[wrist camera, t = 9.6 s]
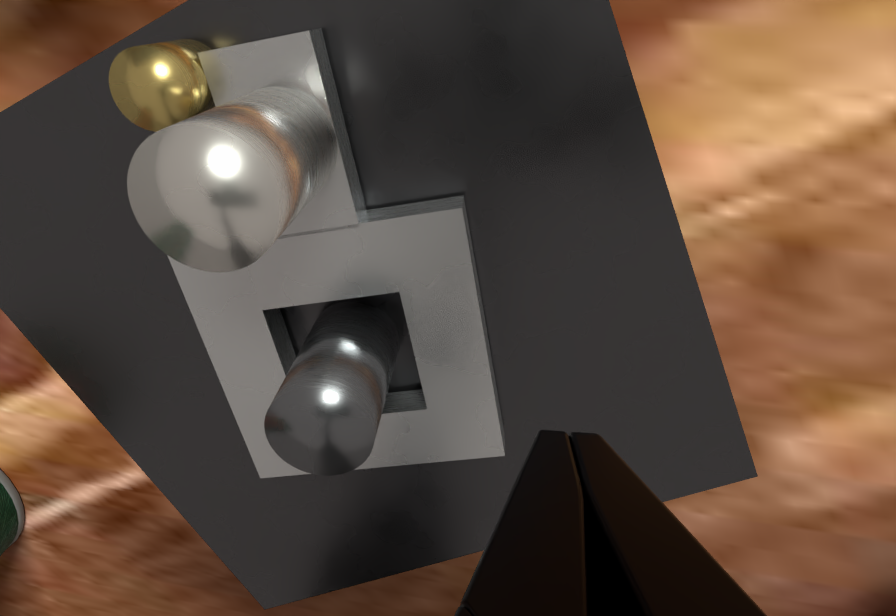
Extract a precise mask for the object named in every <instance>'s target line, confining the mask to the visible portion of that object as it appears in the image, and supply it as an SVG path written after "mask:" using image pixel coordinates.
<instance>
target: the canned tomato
mask: <svg viewBox="0 0 896 616" xmlns="http://www.w3.org/2000/svg"><path fill="white" fill-rule="evenodd" d="M24 520H25V516H24V508H23V504H22V501H21V499H20V496H19V493H18V492H17V490H16V488H15V487H14V485H13V484H12V482H11V481H10V479H9V478H8V477H7V476H6V475H5V474H4V472H3V471H2V470H1V469H0V556H1V555H2V554H3V552H4V551H5V550H6V549H7V548H8V547H10V546H11V545H12V544H13V543H14V542H15V541H16V540H17V539H18V537H19V535H20V533H21V531H22V530H23V526H24Z"/></svg>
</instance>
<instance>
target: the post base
mask: <svg viewBox="0 0 896 616" xmlns="http://www.w3.org/2000/svg"><path fill="white" fill-rule="evenodd" d="M319 28H321V29H322V33H323V37H324V41H325V45H326V49H327V53H328V57H329V61H330V65H331V69H332V73H333V77H334V81H335V85H336V89H337V94H338V98H339V102H340V106H341V110H342V114H343V118H344V122H345V126H346V130H347V134H348V138H349V142H350V146H351V150H352V154H353V158H354V162H355V166H356V170H357V174H358V178H359V182H360V186H361V190H362V194H363V198H364V202H365V206H366V210H371V209H377V208H384V207H390V206H397V205H403V204H410V203H416V202H423V201H429V200H436V199H442V198H449V197H455V196H462V195H464V199H465V205H466V211H467V217H468V223H469V228H470V234H471V240H472V246H473V252H474V258H475V264H476V270H477V275H478V281H479V287H480V293H481V299H482V305H483V311H484V317H485V322H486V328H487V334H488V340H489V346H490V352H491V358H492V364H493V369H494V375H495V381H496V387H497V393H498V399H499V405H500V411H501V416H502V422H503V428H504V437H505V456H498V457H487V458H477V459H466V460H455V461H444V462H433V463H422V464H411V465H401V466H390V467H379V468H368V469H357V470H354V469H356V468H358V467H359V466H360V465H362V464H363V463H364V462H365V461H366V460H367V458H368V457H369V456H370V454H371V452H372V449H373V445H374V442H375V438H376V434H377V430H378V427H379V423H380V419H381V415H382V411H383V408H384V404H385V400H386V396H387V393H393V392H402V391H411V390H420V389H422V385H421V381H420V377H419V372H418V368H417V364H416V360H415V356H414V351H413V347H412V343H411V339H410V335H409V330H408V326H407V322H406V318H405V313H404V309H403V305H402V301H401V297H400V292H395V293H388V294H380V295H373V296H365V297H358V298H350V299H343V300H335V301H328V302H320V303H312V304H305V305H297V306H290V307H282V308H280V311H281V314H282V317H283V320H284V322H285V325H286V328H287V331H288V334H289V337H290V340H291V343H292V346H293V349H294V352H295V355H296V358H295V360H294V362H293V364H292V366H291V368H290V370H289V371H288V373H287V375H286V377H285V379H284V381H283V383H282V384H281V386H280V388H279V390H278V392H277V394H276V396H275V397H274V399H273V401H272V403H271V405H270V407H269V408H268V410H267V413H266V416H265V420H264V429H265V434H266V438H267V440H268V442H269V444H270V446H271V447H272V449H273V450H274V451H275V453H276V454H277V455H278V456H279V457H280V458H281V459H282V460H284V461H285V462H286V463H288V464H289V465H291V466H293V467H295V468H297V469H299V470H301V471H304V472H307V473H311V474H303V475H292V476H281V477H270V478H260V476H259V474H258V472H257V469H256V467H255V464H254V462H253V460H252V457H251V455H250V452H249V450H248V448H247V445H246V443H245V440H244V438H243V436H242V433H241V431H240V428H239V426H238V424H237V421H236V419H235V416H234V414H233V412H232V409H231V407H230V404H229V402H228V400H227V397H226V395H225V392H224V390H223V388H222V385H221V383H220V381H219V378H218V376H217V373H216V371H215V369H214V366H213V364H212V361H211V359H210V357H209V354H208V352H207V349H206V347H205V345H204V342H203V340H202V337H201V335H200V333H199V330H198V328H197V325H196V323H195V321H194V318H193V316H192V313H191V311H190V309H189V306H188V304H187V301H186V299H185V297H184V294H183V292H182V289H181V287H180V285H179V282H178V280H177V277H176V275H175V273H174V270H173V268H172V265H171V263H170V261H169V258H168V256H167V254H165V253H164V252H163V251H162V250H160V249H159V248H158V247H157V246H156V245H155V244H154V243H153V242H152V241H151V240H150V239H149V238H148V236H147V235H146V234H145V233H144V231H143V230H142V228H141V227H140V225H139V223H138V222H137V219H136V217H135V215H134V213H133V211H132V208H131V205H130V201H129V197H128V189H127V175H128V170H129V165H130V163H131V160H132V157H133V155H134V153H135V152H136V150H137V149H138V147H139V146H140V145H141V143H142V142H143V141H144V140H146V139H147V138H148V137H149V136H150V135H152V134H153V133H155V132H157V131H159V130H161V129H163V128H166V127H168V126H171V125H173V124H176V123H178V122H180V121H183V120H185V119H188V118H190V117H192V116H195V115H197V114H200V113H202V112H205V111H207V110H209V109H212V108H214V107H216V106H215V103H214V100H213V97H212V94H211V91H210V89H209V86H208V83H207V80H206V77H205V74H204V71H203V68H202V65H201V62H200V59H199V56H198V53H199V52H203V51H208V50H213V49H218V48H223V47H228V46H233V45H238V44H243V43H248V42H253V41H258V40H263V39H268V38H273V37H278V36H283V35H288V34H293V33H298V32H304V31H309V30H314V29H319ZM0 308H1V309H2V310H3V312H4V313H5V314H6V315H7V316H8V317H9V318H10V320H11V321H12V322H13V323H14V324H15V325H16V326H17V328H18V329H19V330H20V331H21V332H22V333H23V334H24V336H25V337H26V338H27V339H28V340H29V341H30V342H31V343H32V345H33V346H34V347H35V348H36V349H37V350H38V351H39V353H40V354H41V355H42V356H43V357H44V358H45V359H46V361H47V362H48V363H49V364H50V365H51V366H52V367H53V369H54V370H55V371H56V372H57V373H58V374H59V375H60V377H61V378H62V379H63V380H64V381H65V382H66V383H67V385H68V386H69V387H70V388H71V389H72V390H73V391H74V393H75V394H76V395H77V396H78V397H79V398H80V399H81V401H82V402H83V403H84V404H85V405H86V406H87V407H88V409H89V410H90V411H91V412H92V413H93V414H94V415H95V416H96V418H97V419H98V420H99V421H100V422H101V423H102V424H103V426H104V427H105V428H106V429H107V430H108V431H109V432H110V434H111V435H112V436H113V437H114V438H115V439H116V440H117V442H118V443H119V444H120V445H121V446H122V447H123V448H124V450H125V451H126V452H127V453H128V454H129V455H130V456H131V458H132V459H133V460H134V461H135V462H136V463H137V464H138V466H139V467H140V468H141V469H142V470H143V471H144V472H145V474H146V475H147V476H148V477H149V478H150V479H151V480H152V481H153V483H154V484H155V485H156V486H157V487H158V488H159V489H160V491H161V492H162V493H163V494H164V495H165V496H166V497H167V499H168V500H169V501H170V502H171V503H172V504H173V505H174V507H175V508H176V509H177V510H178V511H179V512H180V513H181V515H182V516H183V517H184V518H185V519H186V520H187V521H188V523H189V524H190V525H191V526H192V527H193V528H194V529H195V531H196V532H197V533H198V534H199V535H200V536H201V537H202V539H203V540H204V541H205V542H206V543H207V544H208V545H209V546H210V548H211V549H212V550H213V551H214V552H215V553H216V554H217V556H218V557H219V558H220V559H221V560H222V561H223V562H224V564H225V565H226V566H227V567H228V568H229V569H230V570H231V572H232V573H233V574H234V575H235V576H236V577H237V578H238V580H239V581H240V582H241V583H242V584H243V585H244V586H245V588H246V589H247V590H248V591H249V592H250V593H251V594H252V596H253V597H254V598H255V599H256V600H257V601H258V602H259V604H260V605H261V606H262V607H263V608H264V609H268V608H272V607H276V606H279V605H283V604H287V603H291V602H294V601H298V600H302V599H305V598H309V597H313V596H317V595H320V594H324V593H328V592H331V591H335V590H339V589H342V588H346V587H350V586H354V585H357V584H361V583H365V582H368V581H372V580H376V579H379V578H383V577H387V576H391V575H394V574H398V573H402V572H405V571H409V570H413V569H416V568H420V567H424V566H428V565H431V564H435V563H439V562H442V561H446V560H450V559H453V558H457V557H461V556H465V555H468V554H472V553H476V552H479V551H483V550H485V547H486V545H487V543H488V541H489V538H490V536H491V534H492V532H493V530H494V527H495V525H496V523H497V521H498V518H499V516H500V514H501V512H502V509H503V507H504V505H505V503H506V501H507V498H508V496H509V494H510V492H511V489H512V487H513V485H514V483H515V480H516V478H517V476H518V474H519V472H520V469H521V467H522V465H523V463H524V460H525V458H526V456H527V454H528V452H529V449H530V447H531V445H532V443H533V440H534V438H535V436H536V434H537V432H538V431H539V430H556V431H565V432H566V433H567V434H568V435H569V434H570V433H571V432H585V433H596V434H599V435H600V436H601V437H602V438H603V439H604V440H605V441H606V442H607V443H608V444H609V445H610V446H611V447H612V448H613V449H614V451H615V452H616V453H617V454H618V455H619V456H620V457H621V458H622V459H623V460H624V461H625V462H626V464H627V465H628V466H629V467H630V468H631V469H632V470H633V471H634V472H635V473H636V474H637V475H638V477H639V478H640V479H641V480H642V481H643V482H644V483H645V484H646V485H647V486H648V487H649V488H650V490H651V491H652V492H653V493H654V494H655V495H656V496H657V497H658V498H659V499H660V500H661V501H662V502H664V501H668V500H672V499H676V498H679V497H683V496H687V495H690V494H694V493H698V492H701V491H705V490H709V489H713V488H716V487H720V486H724V485H727V484H731V483H735V482H738V481H742V480H746V479H750V478H753V477H757V473H756V469H755V466H754V463H753V460H752V457H751V453H750V450H749V447H748V444H747V441H746V437H745V434H744V431H743V428H742V425H741V421H740V418H739V415H738V412H737V409H736V405H735V402H734V399H733V396H732V393H731V389H730V386H729V383H728V380H727V377H726V373H725V370H724V367H723V364H722V361H721V357H720V354H719V351H718V348H717V345H716V341H715V338H714V335H713V332H712V329H711V325H710V322H709V319H708V316H707V313H706V309H705V306H704V303H703V300H702V297H701V294H700V290H699V287H698V284H697V281H696V278H695V274H694V271H693V268H692V265H691V262H690V258H689V255H688V252H687V249H686V246H685V242H684V239H683V236H682V233H681V230H680V226H679V223H678V220H677V217H676V214H675V210H674V207H673V204H672V201H671V198H670V194H669V191H668V188H667V185H666V182H665V178H664V175H663V172H662V169H661V166H660V162H659V159H658V156H657V153H656V150H655V146H654V143H653V140H652V137H651V134H650V130H649V127H648V124H647V121H646V118H645V114H644V111H643V108H642V105H641V102H640V98H639V95H638V92H637V89H636V86H635V82H634V79H633V76H632V73H631V70H630V66H629V63H628V60H627V57H626V54H625V50H624V47H623V44H622V41H621V38H620V34H619V31H618V28H617V25H616V22H615V18H614V15H613V12H612V9H611V6H610V2H609V0H188V1H186V2H185V3H183V4H181V5H180V6H178V7H176V8H175V9H173V10H171V11H170V12H168V13H166V14H165V15H163V16H161V17H159V18H158V19H156V20H154V21H153V22H151V23H149V24H148V25H146V26H144V27H143V28H141V29H139V30H138V31H136V32H134V33H133V34H131V35H129V36H128V37H126V38H124V39H123V40H121V41H119V42H118V43H116V44H114V45H113V46H111V47H109V48H108V49H106V50H104V51H102V52H101V53H99V54H97V55H96V56H94V57H92V58H91V59H89V60H87V61H86V62H84V63H82V64H81V65H79V66H77V67H76V68H74V69H72V70H71V71H69V72H67V73H66V74H64V75H62V76H61V77H59V78H57V79H56V80H54V81H52V82H50V83H49V84H47V85H45V86H44V87H42V88H40V89H39V90H37V91H35V92H34V93H32V94H30V95H29V96H27V97H25V98H24V99H22V100H20V101H19V102H17V103H15V104H14V105H12V106H10V107H9V108H7V109H5V110H4V111H2V112H0Z"/></svg>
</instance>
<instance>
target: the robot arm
mask: <svg viewBox="0 0 896 616" xmlns="http://www.w3.org/2000/svg"><path fill="white" fill-rule="evenodd" d="M454 616H767V615H766V614H765V613H764V612H763V611H762V610H761V609H760V608H759V607H758V605H757V604H756V603H755V602H754V601H753V600H752V599H751V598H750V597H749V596H748V595H747V594H746V592H745V591H744V590H743V589H742V588H741V587H740V586H739V585H738V584H737V583H736V582H735V581H734V579H733V578H732V577H731V576H730V575H729V574H728V573H727V572H726V571H725V570H724V569H723V568H722V566H721V565H720V564H719V563H718V562H717V561H716V560H715V559H714V558H713V557H712V556H711V555H710V553H709V552H708V551H707V550H706V549H705V548H704V547H703V546H702V545H701V544H700V543H699V542H698V540H697V539H696V538H695V537H694V536H693V535H692V534H691V533H690V532H689V531H688V530H687V529H686V527H685V526H684V525H683V524H682V523H681V522H680V521H679V520H678V519H677V518H676V517H675V516H674V514H673V513H672V512H671V511H670V510H669V509H668V508H667V507H666V506H665V505H664V504H663V503H662V501H661V500H660V499H659V498H658V497H657V496H656V495H655V494H654V493H653V492H652V491H651V490H650V488H649V487H648V486H647V485H646V484H645V483H644V482H643V481H642V480H641V479H640V478H639V477H638V475H637V474H636V473H635V472H634V471H633V470H632V469H631V468H630V467H629V466H628V465H627V464H626V462H625V461H624V460H623V459H622V458H621V457H620V456H619V455H618V454H617V453H616V452H615V451H614V449H613V448H612V447H611V446H610V445H609V444H608V443H607V442H606V441H605V440H604V439H603V438H602V437H601V436H600V435H599V434H596V433H585V432H571V433H570V434H569V435H568V434H567V433H566V432H565V431H556V430H539V431H538V432H537V434H536V436H535V438H534V440H533V443H532V445H531V447H530V449H529V452H528V454H527V456H526V458H525V460H524V463H523V465H522V467H521V469H520V472H519V474H518V476H517V478H516V480H515V483H514V485H513V487H512V489H511V492H510V494H509V496H508V498H507V501H506V503H505V505H504V507H503V509H502V512H501V514H500V516H499V518H498V521H497V523H496V525H495V527H494V530H493V532H492V534H491V536H490V538H489V541H488V543H487V545H486V547H485V550H484V552H483V554H482V556H481V559H480V561H479V563H478V565H477V567H476V570H475V572H474V574H473V576H472V579H471V581H470V583H469V585H468V588H467V590H466V592H465V594H464V596H463V599H462V601H461V605H460V607H458V609H457V611H456V613H455V615H454Z"/></svg>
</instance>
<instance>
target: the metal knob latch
mask: <svg viewBox="0 0 896 616" xmlns="http://www.w3.org/2000/svg"><path fill="white" fill-rule="evenodd" d="M198 56H199V59H200V62H201V65H202V68H203V71H204V74H205V77H206V80H207V83H208V86H209V89H210V91H211V94H212V97H213V100H214V103H215V106H216V107H214V108H212V109H209V110H207V111H205V112H202V113H200V114H197V115H195V116H192V117H190V118H188V119H185V120H183V121H180V122H178V123H176V124H173V125H171V126H168V127H166V128H163V129H161V130H159V131H157V132H155V133H153V134H152V135H150V136H149V137H148V138H147V139H146V140H144V141H143V142H142V143H141V145H140V146H139V147H138V149H137V150H136V152H135V153H134V155H133V157H132V160H131V163H130V165H129V170H128V175H127V189H128V197H129V201H130V205H131V208H132V211H133V213H134V215H135V217H136V219H137V222H138V223H139V225H140V227H141V228H142V230H143V231H144V233H145V234H146V235H147V236H148V238H149V239H150V240H151V241H152V242H153V243H154V244H155V245H156V246H157V247H158V248H159V249H160V250H162V251H163V252H164V253H165V254H167V256H168V258H169V261H170V263H171V265H172V268H173V270H174V273H175V275H176V277H177V280H178V282H179V285H180V287H181V289H182V292H183V294H184V297H185V299H186V301H187V304H188V306H189V309H190V311H191V313H192V316H193V318H194V321H195V323H196V325H197V328H198V330H199V333H200V335H201V337H202V340H203V342H204V345H205V347H206V349H207V352H208V354H209V357H210V359H211V361H212V364H213V366H214V369H215V371H216V373H217V376H218V378H219V381H220V383H221V385H222V388H223V390H224V392H225V395H226V397H227V400H228V402H229V404H230V407H231V409H232V412H233V414H234V416H235V419H236V421H237V424H238V426H239V428H240V431H241V433H242V436H243V438H244V440H245V443H246V445H247V448H248V450H249V452H250V455H251V457H252V460H253V462H254V464H255V467H256V469H257V472H258V474H259V476H260V478H270V477H281V476H292V475H303V474H311V473H307V472H304V471H301V470H299V469H297V468H295V467H293V466H291V465H289V464H288V463H286V462H285V461H284V460H282V459H281V458H280V457H279V456H278V455H277V454H276V453H275V451H274V450H273V449H272V447H271V446H270V444H269V442H268V440H267V438H266V434H265V429H264V420H265V416H266V413H267V410H268V408H269V407H270V405H271V403H272V401H273V399H274V397H275V396H276V394H277V392H278V390H279V388H280V386H281V384H282V383H283V381H284V379H285V377H286V375H287V373H288V371H289V370H290V368H291V366H292V364H293V362H294V360H295V358H296V355H295V352H294V349H293V346H292V343H291V340H290V337H289V334H288V331H287V328H286V325H285V322H284V320H283V317H282V314H281V311H280V308H282V307H290V306H297V305H305V304H312V303H320V302H328V301H335V300H343V299H350V298H358V297H365V296H373V295H380V294H388V293H395V292H400V297H401V301H402V305H403V309H404V313H405V318H406V322H407V326H408V330H409V335H410V339H411V343H412V347H413V351H414V356H415V360H416V364H417V368H418V372H419V377H420V381H421V385H422V389H420V390H411V391H402V392H393V393H387V396H386V400H385V404H384V408H383V411H382V415H381V419H380V423H379V427H378V430H377V434H376V438H375V442H374V445H373V449H372V452H371V454H370V456H369V457H368V458H367V460H366V461H365V462H364V463H363V464H362V465H360V466H359V467H358V468H356V469H354V470H357V469H368V468H379V467H390V466H401V465H411V464H422V463H433V462H444V461H455V460H466V459H477V458H487V457H498V456H505V437H504V428H503V422H502V416H501V411H500V405H499V399H498V393H497V387H496V381H495V375H494V369H493V364H492V358H491V352H490V346H489V340H488V334H487V328H486V322H485V317H484V311H483V305H482V299H481V293H480V287H479V281H478V275H477V270H476V264H475V258H474V252H473V246H472V240H471V234H470V228H469V223H468V217H467V211H466V205H465V199H464V195H462V196H455V197H449V198H442V199H436V200H429V201H423V202H416V203H410V204H403V205H397V206H390V207H384V208H377V209H371V210H366V206H365V202H364V198H363V194H362V190H361V186H360V182H359V178H358V174H357V170H356V166H355V162H354V158H353V154H352V150H351V146H350V142H349V138H348V134H347V130H346V126H345V122H344V118H343V114H342V110H341V106H340V102H339V98H338V94H337V89H336V85H335V81H334V77H333V73H332V69H331V65H330V61H329V57H328V53H327V49H326V45H325V41H324V37H323V33H322V29H321V28H319V29H314V30H309V31H304V32H298V33H293V34H288V35H283V36H278V37H273V38H268V39H263V40H258V41H253V42H248V43H243V44H238V45H233V46H228V47H223V48H218V49H213V50H208V51H203V52H199V53H198Z"/></svg>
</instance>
